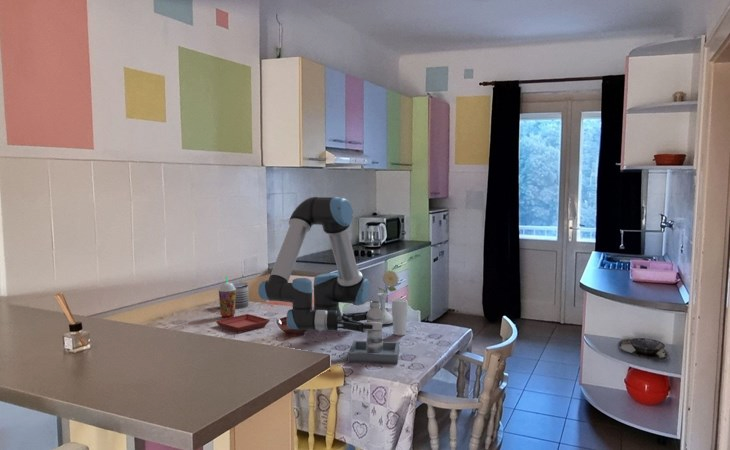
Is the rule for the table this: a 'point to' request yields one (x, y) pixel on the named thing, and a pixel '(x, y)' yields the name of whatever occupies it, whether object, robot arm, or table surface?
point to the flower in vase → (390, 280)
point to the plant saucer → (242, 322)
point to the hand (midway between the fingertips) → (383, 321)
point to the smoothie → (227, 299)
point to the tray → (361, 356)
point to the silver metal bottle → (374, 336)
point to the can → (241, 295)
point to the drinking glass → (399, 316)
